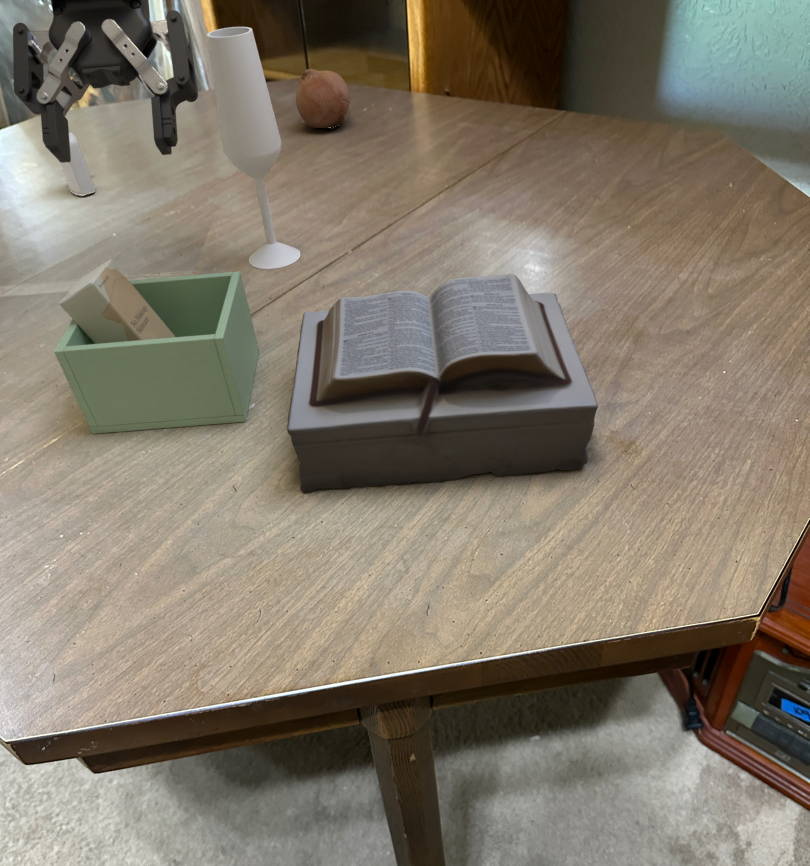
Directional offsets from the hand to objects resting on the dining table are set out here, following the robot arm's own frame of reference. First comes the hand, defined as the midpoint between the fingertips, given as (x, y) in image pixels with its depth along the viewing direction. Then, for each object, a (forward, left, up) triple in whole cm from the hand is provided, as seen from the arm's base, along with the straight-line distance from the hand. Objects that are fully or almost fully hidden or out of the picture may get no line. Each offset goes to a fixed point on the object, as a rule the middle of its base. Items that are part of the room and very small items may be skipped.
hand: (112, 154), depth 59 cm
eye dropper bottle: (-26, +56, -21) cm, 65 cm away
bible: (+25, -11, -21) cm, 35 cm away
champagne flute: (+7, +26, -21) cm, 34 cm away
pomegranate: (+12, +78, -21) cm, 82 cm away
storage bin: (0, -3, -21) cm, 21 cm away
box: (0, -3, -19) cm, 20 cm away
